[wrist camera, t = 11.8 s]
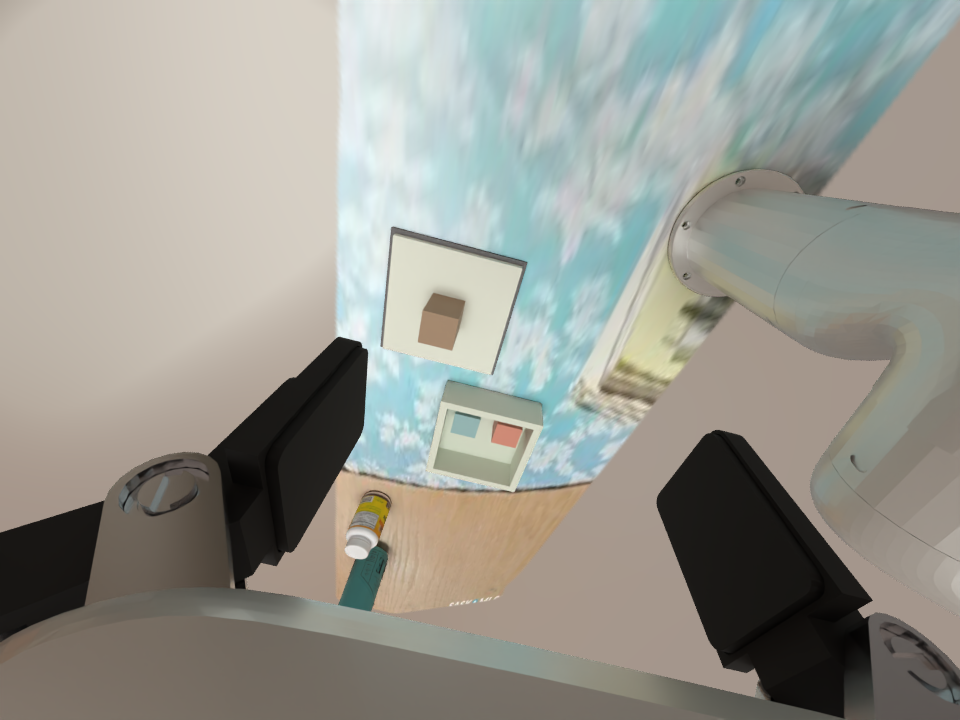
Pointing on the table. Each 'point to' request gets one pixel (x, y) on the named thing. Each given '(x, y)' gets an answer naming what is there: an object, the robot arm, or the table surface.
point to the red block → (505, 434)
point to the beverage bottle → (365, 580)
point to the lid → (447, 303)
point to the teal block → (465, 424)
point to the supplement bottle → (367, 524)
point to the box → (483, 437)
